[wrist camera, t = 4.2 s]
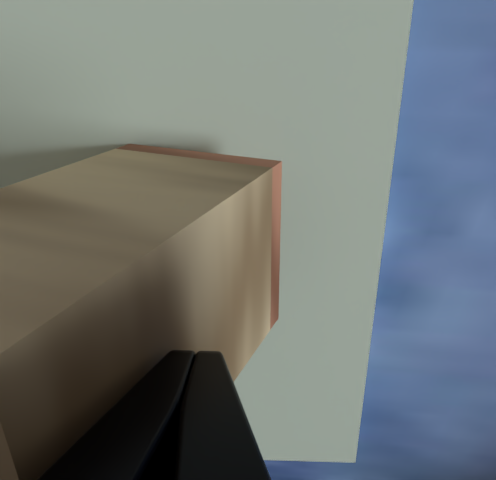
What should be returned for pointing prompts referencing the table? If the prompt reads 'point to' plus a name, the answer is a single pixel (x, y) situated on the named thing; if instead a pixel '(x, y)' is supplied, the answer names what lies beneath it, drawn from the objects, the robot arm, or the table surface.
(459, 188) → the table surface
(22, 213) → the maple block
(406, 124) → the table surface
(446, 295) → the table surface
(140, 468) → the robot arm
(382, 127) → the sage mat
